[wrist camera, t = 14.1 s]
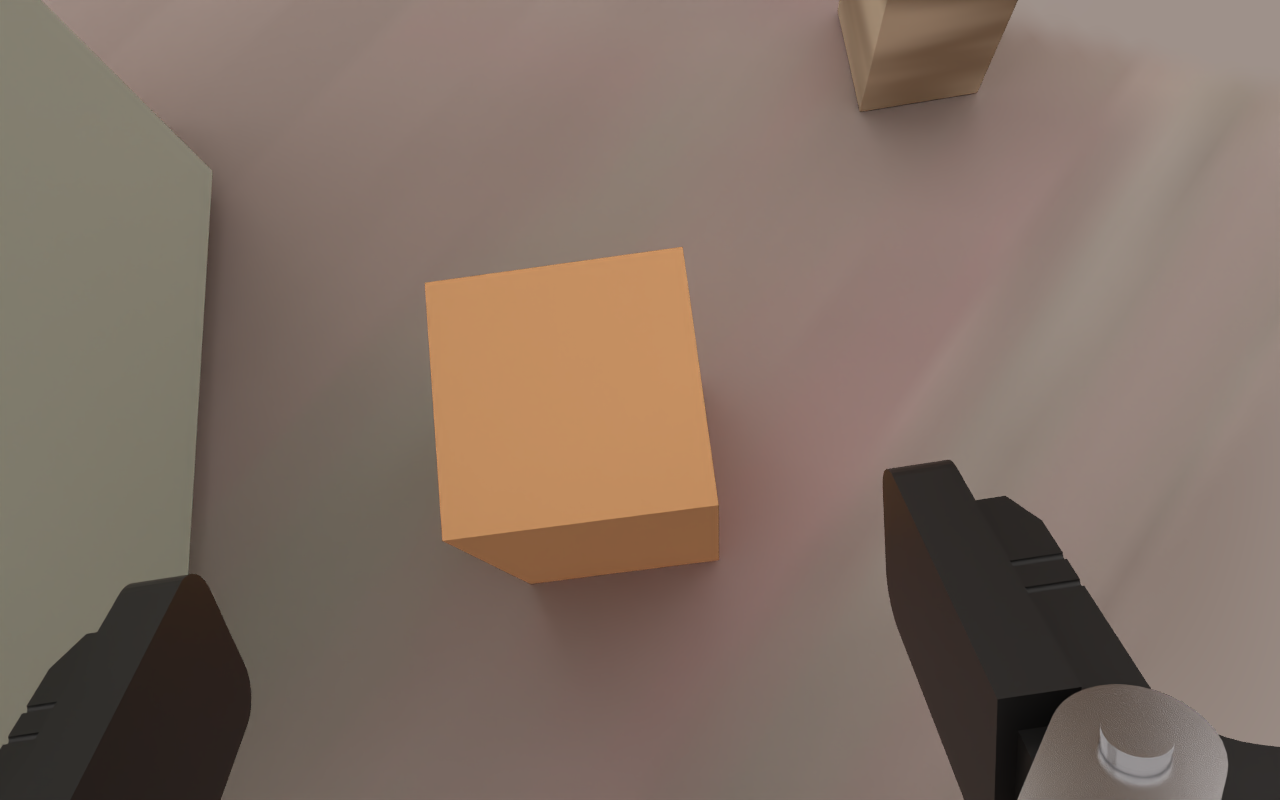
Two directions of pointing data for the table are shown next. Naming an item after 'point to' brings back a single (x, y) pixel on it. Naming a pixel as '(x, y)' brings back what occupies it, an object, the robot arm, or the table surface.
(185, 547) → the door
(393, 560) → the table surface
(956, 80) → the door frame
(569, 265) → the block
